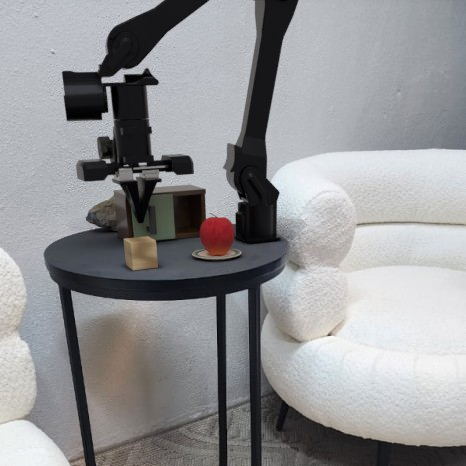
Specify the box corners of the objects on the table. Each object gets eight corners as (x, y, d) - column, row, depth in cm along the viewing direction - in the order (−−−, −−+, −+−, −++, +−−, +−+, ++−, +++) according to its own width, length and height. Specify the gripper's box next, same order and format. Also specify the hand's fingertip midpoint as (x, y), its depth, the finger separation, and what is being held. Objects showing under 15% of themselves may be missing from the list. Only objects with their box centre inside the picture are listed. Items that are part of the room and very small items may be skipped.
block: (150, 262, 109) (148, 236, 107) (158, 267, 105) (156, 240, 103) (125, 265, 107) (123, 238, 105) (133, 270, 104) (130, 243, 102)
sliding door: (174, 237, 125) (171, 193, 121) (181, 241, 122) (179, 196, 118) (134, 241, 122) (130, 197, 119) (140, 245, 119) (136, 199, 115)
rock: (136, 217, 140) (141, 182, 131) (143, 242, 139) (149, 208, 130) (81, 221, 137) (82, 185, 128) (88, 247, 136) (89, 213, 126)
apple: (193, 252, 115) (191, 210, 112) (241, 251, 115) (240, 209, 111) (190, 262, 108) (188, 218, 105) (241, 261, 108) (240, 217, 105)
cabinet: (192, 229, 134) (190, 184, 130) (207, 235, 128) (205, 188, 123) (118, 236, 129) (113, 190, 125) (129, 243, 123) (125, 195, 118)
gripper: (170, 116, 119) (176, 212, 127) (63, 120, 113) (76, 221, 121) (192, 117, 111) (197, 220, 119) (77, 122, 104) (91, 230, 112)
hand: (140, 223), depth 118 cm, fingers closed
